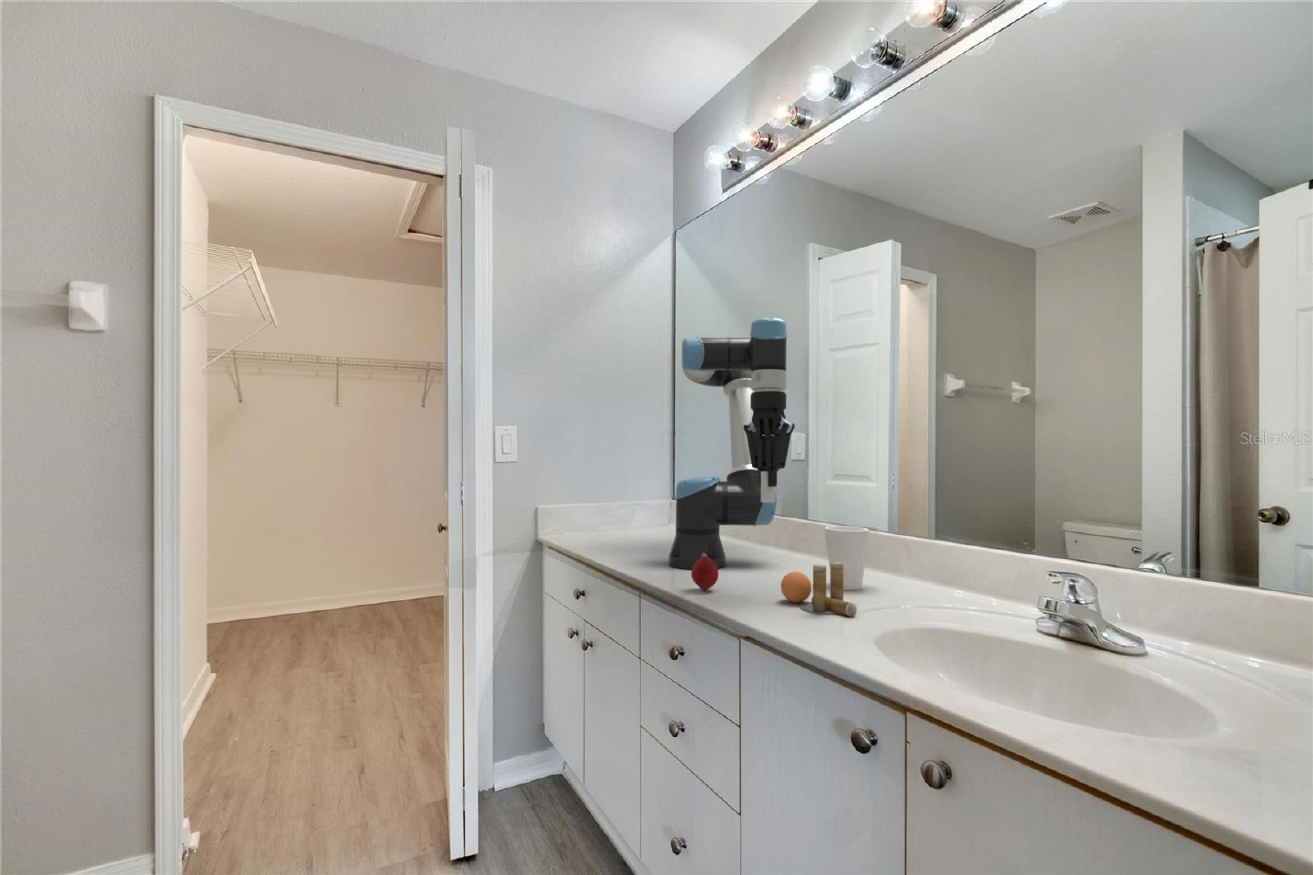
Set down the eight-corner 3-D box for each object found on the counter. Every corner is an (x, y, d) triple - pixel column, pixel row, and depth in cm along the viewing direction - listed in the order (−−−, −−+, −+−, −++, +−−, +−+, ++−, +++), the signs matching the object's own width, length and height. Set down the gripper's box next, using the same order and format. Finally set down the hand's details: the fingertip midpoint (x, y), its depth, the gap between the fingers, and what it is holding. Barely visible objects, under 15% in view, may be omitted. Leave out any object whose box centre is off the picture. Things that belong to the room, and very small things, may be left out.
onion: (718, 588, 132) (718, 551, 132) (718, 594, 126) (718, 556, 126) (691, 587, 132) (692, 551, 133) (690, 593, 127) (691, 555, 127)
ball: (816, 585, 116) (808, 611, 118) (813, 569, 122) (805, 594, 124) (785, 579, 117) (778, 605, 119) (783, 563, 122) (777, 588, 124)
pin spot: (800, 601, 120) (800, 600, 120) (843, 604, 118) (843, 603, 118) (799, 612, 112) (799, 611, 112) (846, 615, 110) (846, 614, 110)
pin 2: (830, 606, 117) (830, 561, 117) (842, 606, 117) (843, 562, 117) (830, 609, 115) (830, 564, 115) (843, 610, 114) (843, 564, 114)
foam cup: (816, 585, 135) (816, 528, 135) (839, 580, 141) (839, 525, 141) (855, 593, 128) (855, 532, 128) (876, 587, 134) (876, 529, 134)
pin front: (816, 591, 117) (852, 600, 110) (821, 599, 118) (858, 609, 110) (809, 600, 116) (846, 610, 109) (815, 609, 117) (852, 619, 109)
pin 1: (813, 609, 114) (813, 564, 114) (826, 610, 114) (826, 565, 114) (813, 613, 112) (813, 566, 112) (826, 614, 111) (826, 567, 112)
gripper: (734, 392, 131) (733, 500, 131) (778, 387, 121) (778, 505, 120) (758, 394, 136) (758, 499, 135) (803, 390, 125) (803, 503, 124)
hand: (767, 501), depth 128 cm, fingers closed
